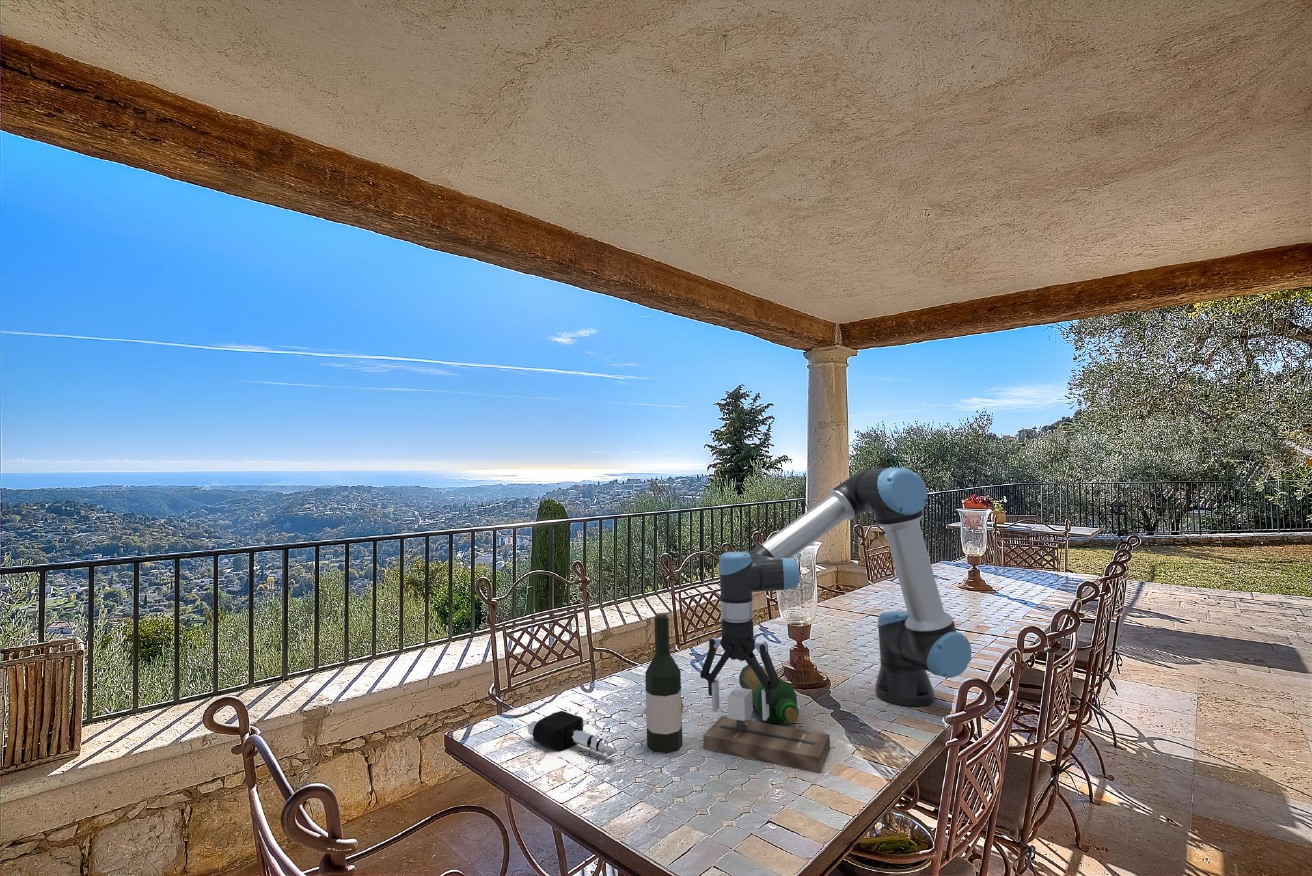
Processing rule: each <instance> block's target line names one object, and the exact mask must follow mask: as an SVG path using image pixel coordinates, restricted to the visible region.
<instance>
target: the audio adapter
mask: <svg viewBox="0 0 1312 876" xmlns="http://www.w3.org/2000/svg"><path fill="white" fill-rule="evenodd" d="M527 732H528V734H529V735H531V736H532V738H533V739H532V740H534V742H535V743H538V744H540V745H542V746H544V747H547V748H550V749H552V750H555V751H557V752H564V751H565V750H567V749H569V748H571V747H574V746H576V745H580V746H583V747H585V748H588V749H590V750H593V751H595V752H598V753H601V754H606V755H607V756H608V757H609V756H612V755H614V754H616V753H617V752H618V751H617V748H616V746H615V744H614V742H613V741H611V742H608V740H606V739H603V738H602V737H599V736H597V735H592V734H591V733H587V732H585V731H584V718H583V717H582V716H578V715H575V714H573V713H570V712H567V711H563V710H560V711H556V712H552V713H550V714H549V715H547V716H545V717H543V718H541V719H540V720H538V721H536V720H533V721H531V722H530V723H529V725H528V727H527Z"/></svg>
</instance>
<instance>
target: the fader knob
mask: <svg viewBox="0 0 1312 876" xmlns="http://www.w3.org/2000/svg"><path fill="white" fill-rule="evenodd" d="M753 706H754V704H753V701H752V690H751V689H744V688H742V687H735V688H734V689H733V690H732V691H731V692H729V693H728V694H727V717H728V718H730V719H736V721H737V730H738V731H744V730H745V729H746V726H745V720H748V718H749V717H750V716H751V715H752V713H753V712H754V708H753Z"/></svg>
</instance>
